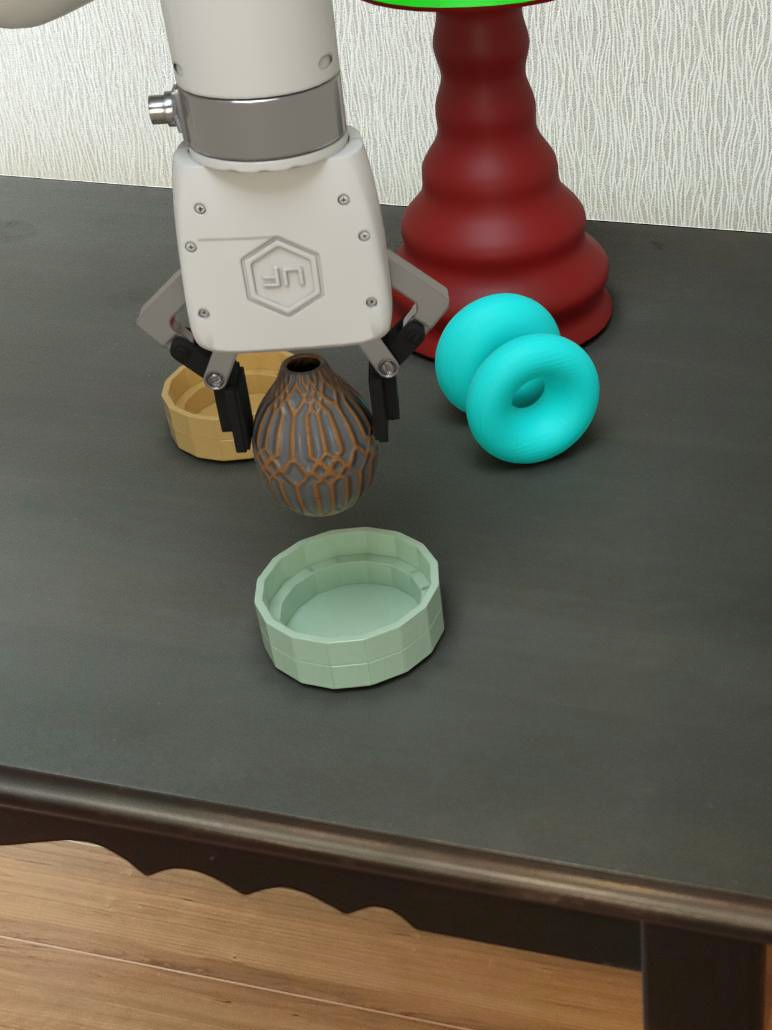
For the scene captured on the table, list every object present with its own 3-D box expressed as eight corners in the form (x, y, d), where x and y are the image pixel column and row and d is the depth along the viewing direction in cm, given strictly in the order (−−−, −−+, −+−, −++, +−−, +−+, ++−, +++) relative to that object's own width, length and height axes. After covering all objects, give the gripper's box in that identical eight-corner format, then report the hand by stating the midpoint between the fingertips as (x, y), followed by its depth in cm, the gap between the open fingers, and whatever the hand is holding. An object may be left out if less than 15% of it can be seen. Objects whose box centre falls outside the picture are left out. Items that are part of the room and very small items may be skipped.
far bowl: (164, 471, 95) (152, 425, 93) (183, 396, 104) (172, 352, 102) (313, 457, 96) (305, 411, 93) (319, 384, 105) (311, 340, 102)
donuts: (479, 485, 92) (469, 362, 86) (436, 419, 99) (423, 302, 93) (606, 452, 95) (605, 331, 89) (555, 390, 102) (550, 274, 96)
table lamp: (615, 367, 105) (609, -286, 78) (374, 374, 106) (285, -270, 79) (609, 264, 121) (602, -309, 94) (400, 270, 121) (333, -296, 94)
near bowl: (259, 702, 75) (247, 650, 73) (272, 585, 84) (262, 536, 81) (448, 683, 76) (441, 631, 73) (441, 569, 84) (435, 519, 82)
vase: (324, 548, 70) (302, 409, 65) (238, 505, 73) (210, 370, 68) (409, 488, 74) (394, 354, 69) (323, 450, 78) (304, 320, 72)
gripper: (60, 154, 57) (145, 484, 68) (452, 131, 58) (474, 460, 69) (91, 98, 63) (164, 410, 74) (446, 78, 64) (467, 389, 75)
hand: (314, 432), depth 71 cm, fingers closed on vase, 6 cm apart
